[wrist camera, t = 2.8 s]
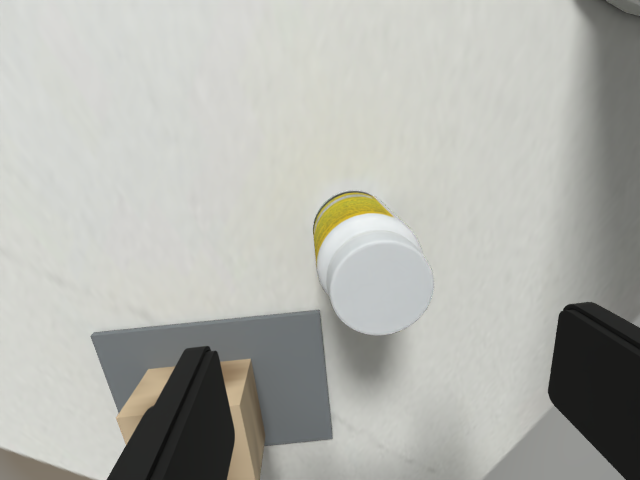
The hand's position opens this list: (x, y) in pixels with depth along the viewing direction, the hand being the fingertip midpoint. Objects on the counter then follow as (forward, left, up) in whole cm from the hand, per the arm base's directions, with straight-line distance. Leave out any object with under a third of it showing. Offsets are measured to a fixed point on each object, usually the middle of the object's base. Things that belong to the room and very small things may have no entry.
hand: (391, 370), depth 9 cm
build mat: (+9, +10, -12) cm, 19 cm away
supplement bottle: (-1, -1, -12) cm, 12 cm away
